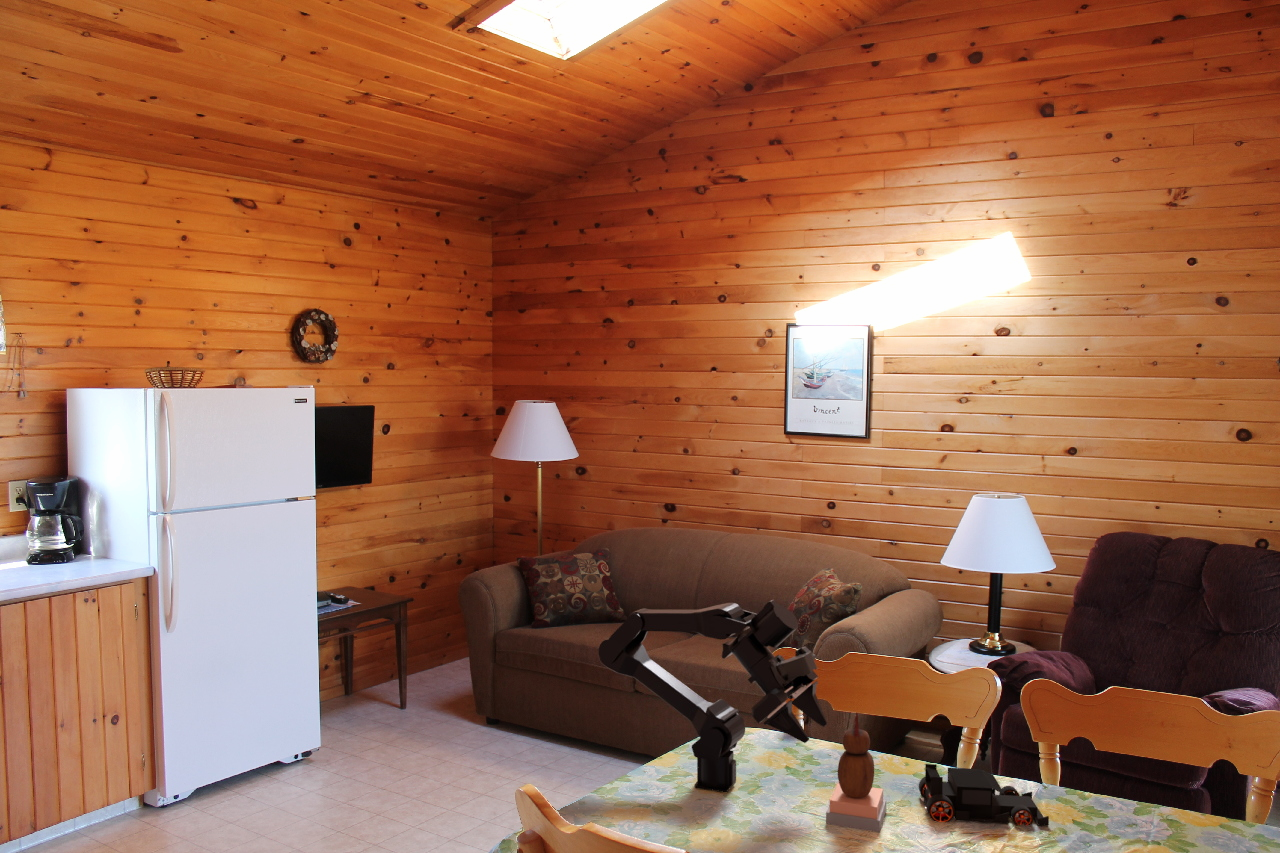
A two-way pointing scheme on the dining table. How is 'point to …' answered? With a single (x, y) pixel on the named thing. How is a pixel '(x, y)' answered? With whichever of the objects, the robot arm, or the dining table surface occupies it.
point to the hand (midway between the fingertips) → (816, 733)
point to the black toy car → (975, 798)
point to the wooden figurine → (856, 763)
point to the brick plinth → (856, 820)
